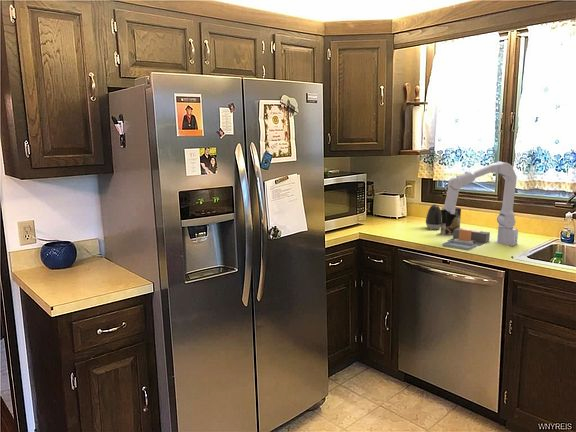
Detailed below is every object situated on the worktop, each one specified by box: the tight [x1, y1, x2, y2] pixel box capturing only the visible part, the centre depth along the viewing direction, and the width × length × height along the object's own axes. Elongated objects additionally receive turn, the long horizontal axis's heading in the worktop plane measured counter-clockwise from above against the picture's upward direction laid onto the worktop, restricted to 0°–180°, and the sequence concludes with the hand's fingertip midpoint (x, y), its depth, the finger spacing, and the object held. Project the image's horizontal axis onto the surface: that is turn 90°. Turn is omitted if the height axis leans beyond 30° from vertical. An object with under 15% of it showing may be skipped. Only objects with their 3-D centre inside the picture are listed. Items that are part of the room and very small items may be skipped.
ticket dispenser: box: [447, 227, 491, 247], centre depth 253 cm, size 18×13×6 cm
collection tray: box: [442, 239, 478, 251], centre depth 243 cm, size 14×10×2 cm
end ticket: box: [459, 228, 471, 241], centre depth 250 cm, size 6×2×7 cm, turn 47°
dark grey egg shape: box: [425, 204, 442, 230], centre depth 287 cm, size 10×10×15 cm
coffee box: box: [440, 206, 462, 236], centre depth 270 cm, size 9×6×16 cm
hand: (445, 224), depth 250 cm, fingers open, 7 cm apart
